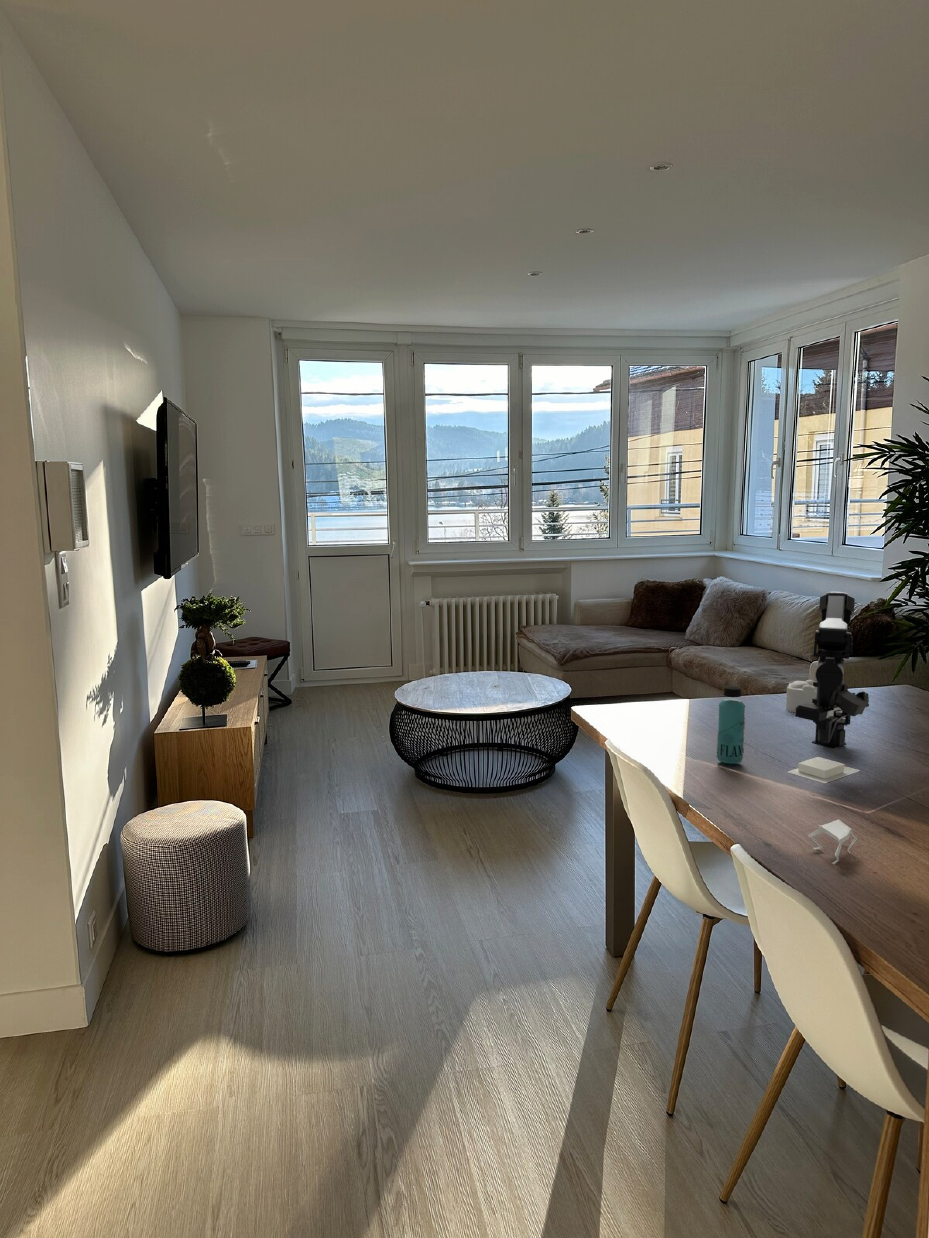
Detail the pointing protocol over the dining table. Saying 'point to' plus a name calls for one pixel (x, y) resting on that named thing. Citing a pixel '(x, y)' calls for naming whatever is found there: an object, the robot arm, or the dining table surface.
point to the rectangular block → (821, 767)
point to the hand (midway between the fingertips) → (826, 742)
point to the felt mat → (846, 772)
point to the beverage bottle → (731, 727)
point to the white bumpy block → (800, 694)
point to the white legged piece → (834, 835)
